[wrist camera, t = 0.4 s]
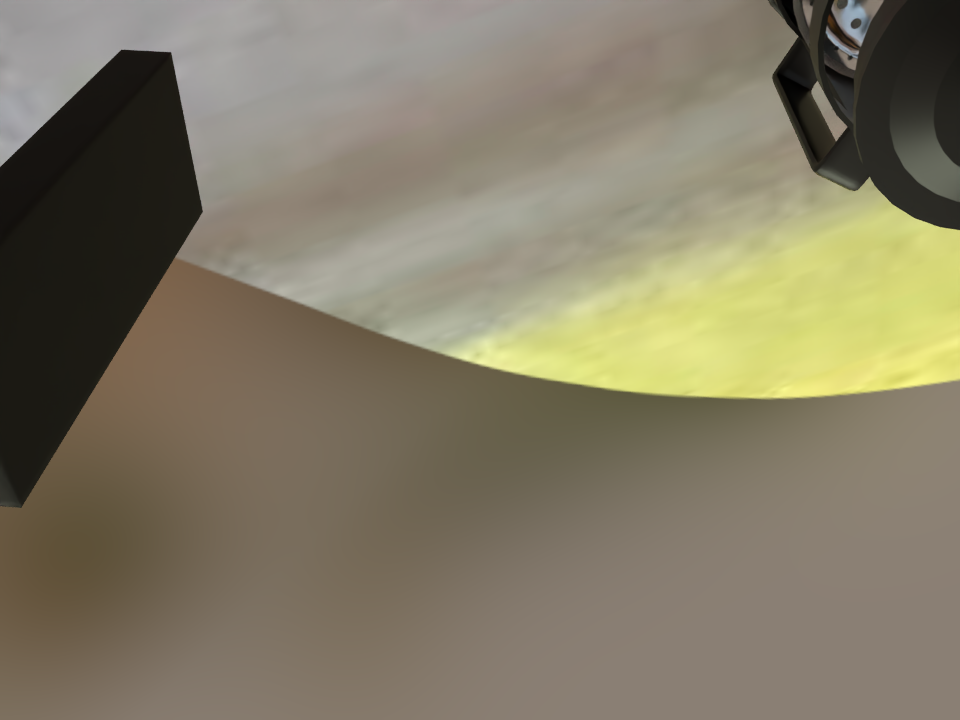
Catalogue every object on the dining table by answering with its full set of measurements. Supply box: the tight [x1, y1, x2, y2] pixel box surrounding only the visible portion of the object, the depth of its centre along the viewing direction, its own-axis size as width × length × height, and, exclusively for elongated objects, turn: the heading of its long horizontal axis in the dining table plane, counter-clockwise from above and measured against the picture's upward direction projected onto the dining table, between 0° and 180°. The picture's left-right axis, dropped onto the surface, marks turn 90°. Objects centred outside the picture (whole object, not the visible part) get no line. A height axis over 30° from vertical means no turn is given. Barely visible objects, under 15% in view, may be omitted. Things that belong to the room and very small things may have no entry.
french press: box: [768, 0, 960, 230], centre depth 28 cm, size 12×9×23 cm
